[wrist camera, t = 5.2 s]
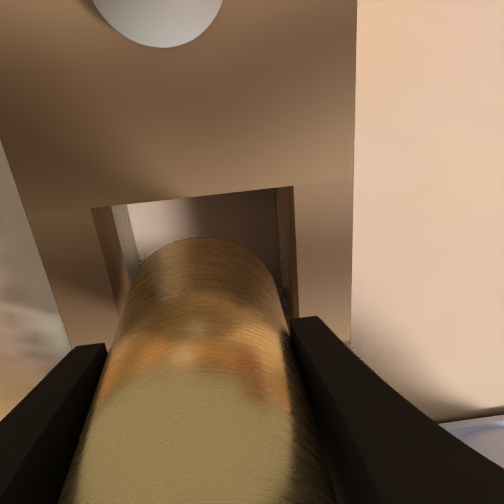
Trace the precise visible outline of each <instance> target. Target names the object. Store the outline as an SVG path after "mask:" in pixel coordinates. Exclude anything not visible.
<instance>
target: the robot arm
mask: <svg viewBox="0 0 504 504" xmlns="http://www.w3.org/2000/svg"><path fill="white" fill-rule="evenodd" d="M290 337H291V341H292V345H293V348H294V352H295V355H296V359H297V362H298V366H299V369H300V373H301V376H302V380H303V383H304V387H305V390H306V394H307V397H308V401H309V404H310V408H311V411H312V415H313V418H314V421H315V425H316V428H317V432H318V435H319V439H320V442H321V446H322V449H323V453H324V456H325V460H326V463H327V467H328V470H329V474H330V477H331V481H332V484H333V488H334V491H335V495H336V498H337V501H338V504H504V415H498V416H491V417H483V418H476V419H469V420H462V421H455V422H448V423H441V424H437V423H436V422H434V421H433V420H432V419H430V418H429V417H428V416H426V415H425V414H424V413H422V412H421V411H420V410H419V409H417V408H416V407H415V406H414V405H412V404H411V403H410V402H409V401H407V400H406V399H405V398H404V397H403V396H401V395H400V394H399V393H398V392H396V391H395V390H394V389H393V388H392V387H391V386H389V385H388V384H387V383H386V382H385V381H384V380H383V379H381V378H380V377H379V376H378V375H377V374H376V373H375V372H374V371H373V370H372V369H370V368H369V367H368V366H367V365H366V364H365V363H364V362H363V361H362V360H361V359H360V358H359V357H358V356H357V355H355V354H354V353H353V352H352V351H351V350H350V349H349V348H348V347H347V346H346V345H345V344H344V343H343V342H342V341H341V340H340V339H339V337H338V336H337V335H336V334H335V333H334V332H333V331H332V330H331V329H330V328H329V327H328V326H327V325H326V324H325V323H324V322H323V320H322V319H320V318H319V317H318V316H309V317H301V318H293V319H290ZM107 355H108V352H107V349H106V345H105V342H104V343H96V344H88V345H80V346H76V347H75V348H74V349H73V350H72V351H70V352H69V353H68V354H67V355H66V356H65V357H64V358H63V359H62V360H61V361H60V362H59V363H58V364H57V365H56V366H55V367H54V368H53V369H52V370H51V371H50V372H49V373H48V374H47V375H46V376H45V378H44V379H43V380H42V381H41V382H40V383H39V384H38V385H37V386H36V387H35V388H34V389H33V390H32V391H31V392H30V393H29V394H28V395H27V396H26V397H25V398H24V399H23V400H22V401H21V402H20V403H19V404H18V405H17V406H16V407H15V408H14V409H13V410H12V411H11V412H10V413H9V414H8V415H7V416H6V417H5V418H4V419H2V420H1V421H0V504H58V501H59V498H60V495H61V492H62V489H63V486H64V483H65V480H66V477H67V474H68V471H69V468H70V465H71V462H72V459H73V456H74V453H75V450H76V447H77V444H78V441H79V438H80V435H81V432H82V429H83V426H84V423H85V420H86V417H87V414H88V411H89V408H90V405H91V402H92V399H93V397H94V394H95V391H96V388H97V385H98V382H99V379H100V376H101V373H102V370H103V367H104V364H105V361H106V358H107Z"/></svg>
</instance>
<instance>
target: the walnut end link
mask: <svg viewBox="0 0 504 504" xmlns="http://www.w3.org/2000/svg"><path fill="white" fill-rule="evenodd" d="M356 30H357V0H0V139H1V142H2V145H3V148H4V151H5V154H6V157H7V160H8V162H9V165H10V168H11V171H12V174H13V177H14V180H15V183H16V186H17V189H18V192H19V195H20V198H21V201H22V204H23V206H24V209H25V212H26V215H27V218H28V221H29V224H30V227H31V230H32V233H33V236H34V239H35V242H36V245H37V247H38V250H39V253H40V256H41V259H42V262H43V265H44V268H45V271H46V274H47V277H48V280H49V283H50V286H51V289H52V291H53V294H54V297H55V300H56V303H57V306H58V309H59V312H60V315H61V318H62V321H63V324H64V327H65V330H66V333H67V335H68V338H69V341H70V344H71V347H72V350H73V349H74V348H75V347H76V346H80V345H88V344H96V343H104V342H105V345H106V349H107V352H109V349H110V346H111V343H112V340H113V337H114V334H115V331H116V328H117V325H118V322H119V319H120V316H121V313H122V310H123V307H124V304H125V301H126V298H127V295H128V292H129V289H130V281H129V277H128V273H127V269H126V265H125V261H124V257H123V253H122V249H121V245H120V241H119V237H118V233H117V228H116V224H115V220H114V216H113V212H112V208H111V206H115V205H124V204H133V203H142V202H151V201H160V200H169V199H178V198H187V197H196V196H205V195H214V194H223V193H232V192H241V191H250V190H259V189H268V188H277V187H283V190H284V208H285V226H286V244H287V262H288V280H289V298H290V314H284V317H285V321H286V324H287V328H288V331H289V335H290V319H293V318H301V317H309V316H318V317H319V318H320V319H322V320H323V322H324V323H325V324H326V325H327V326H328V327H329V328H330V329H331V330H332V331H333V332H334V333H335V334H336V335H337V336H338V337H339V339H340V340H341V341H342V342H343V343H344V344H345V345H346V346H347V347H348V348H349V349H350V335H351V284H352V233H353V183H354V132H355V81H356ZM290 338H291V337H290Z"/></svg>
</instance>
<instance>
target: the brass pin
mask: <svg viewBox="0 0 504 504" xmlns="http://www.w3.org/2000/svg"><path fill="white" fill-rule="evenodd" d="M58 504H338V501H337V498H336V495H335V491H334V488H333V484H332V481H331V477H330V474H329V470H328V467H327V463H326V460H325V456H324V453H323V449H322V446H321V442H320V439H319V435H318V432H317V428H316V425H315V421H314V418H313V415H312V411H311V408H310V404H309V401H308V397H307V394H306V390H305V387H304V383H303V380H302V376H301V373H300V369H299V366H298V362H297V359H296V355H295V352H294V348H293V345H292V341H291V338H290V335H289V331H288V328H287V324H286V321H285V317H284V314H283V310H282V307H281V303H280V300H279V296H278V293H277V289H276V286H275V282H274V280H273V278H272V275H271V273H270V272H269V270H268V268H267V267H266V266H265V264H264V263H263V262H262V261H261V260H260V259H259V258H258V257H257V256H256V255H255V254H254V253H252V252H251V251H249V250H248V249H246V248H244V247H242V246H240V245H239V244H236V243H234V242H231V241H228V240H224V239H219V238H211V237H195V238H188V239H183V240H180V241H176V242H174V243H171V244H169V245H166V246H165V247H163V248H161V249H159V250H158V251H156V252H155V253H154V254H152V255H151V256H150V257H149V258H148V259H147V260H146V261H145V262H144V263H143V264H142V265H141V267H140V268H139V269H138V271H137V272H136V274H135V276H134V278H133V281H132V283H131V286H130V289H129V292H128V295H127V298H126V301H125V304H124V307H123V310H122V313H121V316H120V319H119V322H118V325H117V328H116V331H115V334H114V337H113V340H112V343H111V346H110V349H109V352H108V355H107V358H106V361H105V364H104V367H103V370H102V373H101V376H100V379H99V382H98V385H97V388H96V391H95V394H94V397H93V399H92V402H91V405H90V408H89V411H88V414H87V417H86V420H85V423H84V426H83V429H82V432H81V435H80V438H79V441H78V444H77V447H76V450H75V453H74V456H73V459H72V462H71V465H70V468H69V471H68V474H67V477H66V480H65V483H64V486H63V489H62V492H61V495H60V498H59V501H58Z"/></svg>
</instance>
